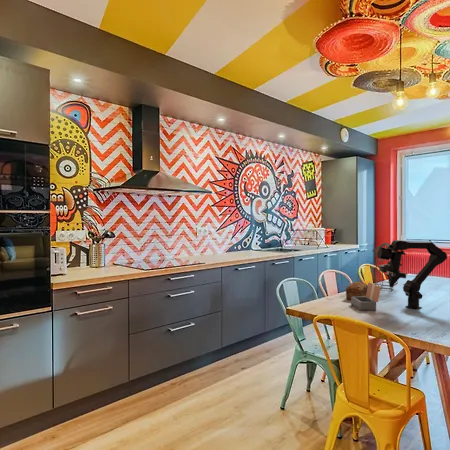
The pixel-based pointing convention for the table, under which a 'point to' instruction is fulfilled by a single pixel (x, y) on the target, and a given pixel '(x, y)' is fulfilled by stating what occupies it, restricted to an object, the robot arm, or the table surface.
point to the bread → (356, 290)
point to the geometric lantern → (382, 264)
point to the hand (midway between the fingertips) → (390, 287)
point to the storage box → (363, 303)
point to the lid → (373, 291)
